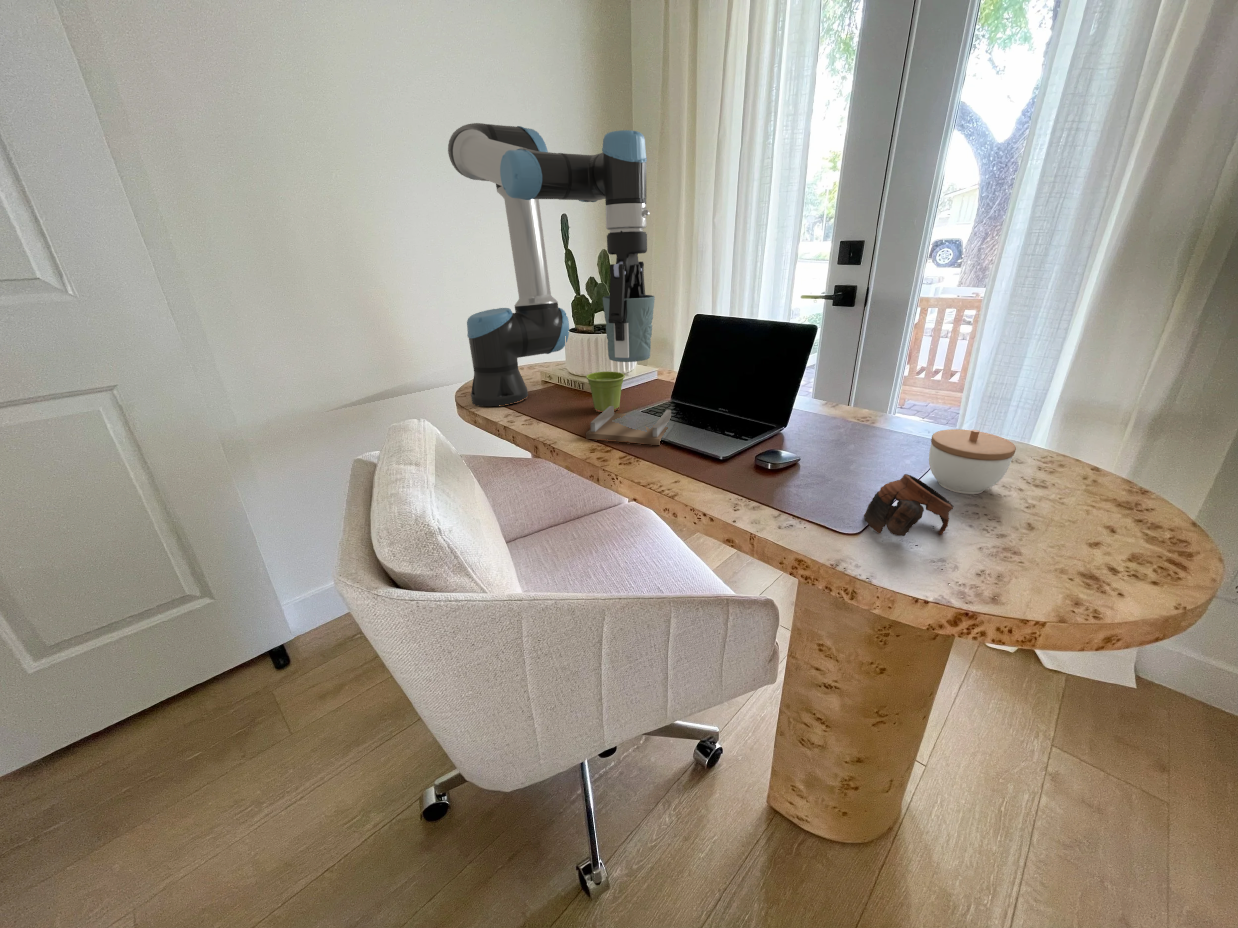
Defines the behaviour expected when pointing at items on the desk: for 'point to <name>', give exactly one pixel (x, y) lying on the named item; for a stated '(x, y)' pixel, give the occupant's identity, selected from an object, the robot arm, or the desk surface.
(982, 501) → the desk surface
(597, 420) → the board
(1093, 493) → the desk surface
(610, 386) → the plant pot
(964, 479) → the lidded jar
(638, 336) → the blue ceramic cup
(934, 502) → the pottery mug
